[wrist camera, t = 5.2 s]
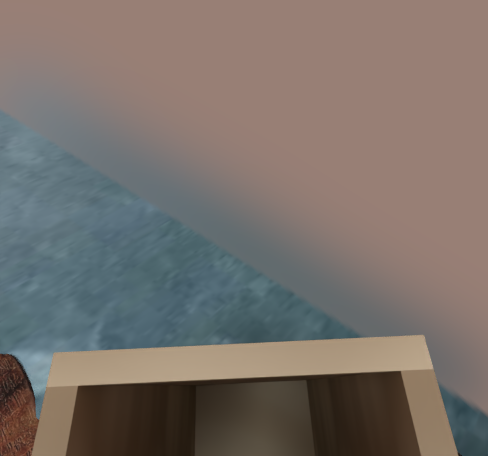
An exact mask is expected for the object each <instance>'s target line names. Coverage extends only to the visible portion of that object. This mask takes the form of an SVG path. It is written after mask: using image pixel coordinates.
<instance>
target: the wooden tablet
mask: <svg viewBox="0 0 488 456" xmlns="http://www.w3.org/2000/svg"><path fill="white" fill-rule="evenodd" d="M35 407H36V406H35V397H34V393H33V390H32V387H31V384H30V382H29V380H28V377H27V376H26V374H25V373H24V371H23V369H22V367H21V366H20V364H19V363H18V362H17V360H16V359H15V358H14V357H13V356H12V355H9V354H6V355H4V354H0V456H32V451H33V447H34V442H35V437H36V433H37V428H38V423H39V420H38V419H37V418H36V411H35Z"/></svg>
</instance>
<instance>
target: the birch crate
mask: <svg viewBox="0 0 488 456" xmlns="http://www.w3.org/2000/svg"><path fill="white" fill-rule="evenodd" d="M32 456H458V453H457V449H456V446H455V442H454V439H453V435H452V432H451V428H450V425H449V421H448V418H447V414H446V411H445V407H444V404H443V400H442V397H441V393H440V390H439V386H438V383H437V380H436V376H435V373H434V369H433V366H432V362H431V359H430V355H429V352H428V348H427V345H426V341H425V338H424V335H416V336H415V335H414V336H392V337H372V338H351V339H330V340H309V341H289V342H268V343H247V344H226V345H206V346H185V347H164V348H143V349H123V350H102V351H81V352H61V353H54V354H53V359H52V364H51V368H50V373H49V377H48V382H47V387H46V391H45V396H44V400H43V405H42V410H41V414H40V419H39V423H38V428H37V433H36V437H35V442H34V447H33V451H32Z"/></svg>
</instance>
